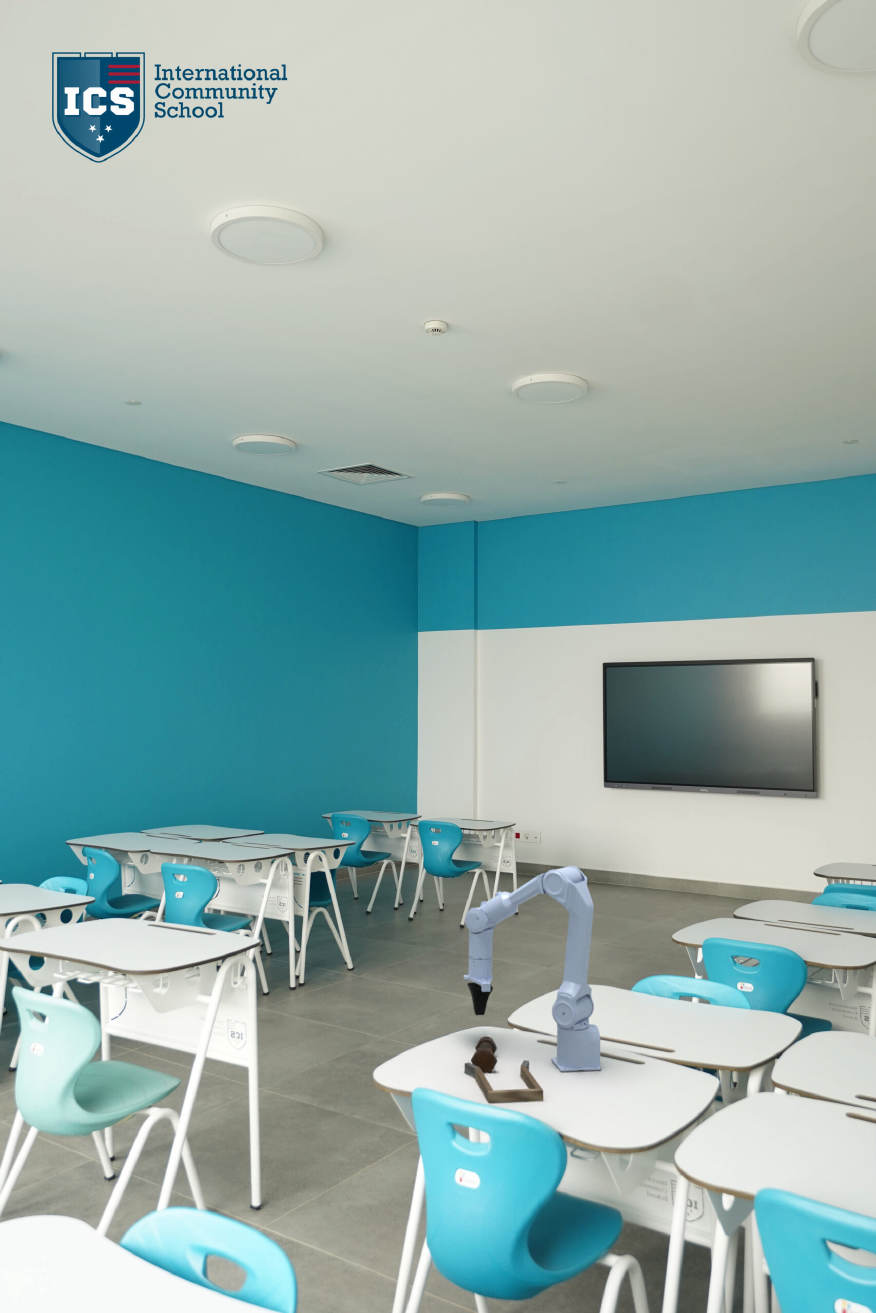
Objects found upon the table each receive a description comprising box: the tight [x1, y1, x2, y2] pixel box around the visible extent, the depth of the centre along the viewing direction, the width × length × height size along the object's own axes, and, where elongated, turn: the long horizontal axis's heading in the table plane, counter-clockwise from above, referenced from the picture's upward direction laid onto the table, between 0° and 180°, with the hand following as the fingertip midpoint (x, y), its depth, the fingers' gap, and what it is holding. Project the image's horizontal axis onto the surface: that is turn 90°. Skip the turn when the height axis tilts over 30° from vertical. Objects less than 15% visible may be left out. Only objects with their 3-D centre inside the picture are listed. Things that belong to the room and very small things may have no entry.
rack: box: [464, 1059, 544, 1104], centre depth 203 cm, size 15×18×2 cm
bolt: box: [470, 1036, 498, 1074], centre depth 218 cm, size 6×5×15 cm
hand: (479, 1014), depth 230 cm, fingers closed
